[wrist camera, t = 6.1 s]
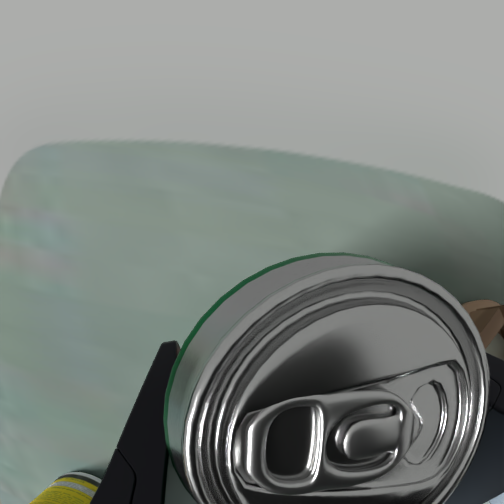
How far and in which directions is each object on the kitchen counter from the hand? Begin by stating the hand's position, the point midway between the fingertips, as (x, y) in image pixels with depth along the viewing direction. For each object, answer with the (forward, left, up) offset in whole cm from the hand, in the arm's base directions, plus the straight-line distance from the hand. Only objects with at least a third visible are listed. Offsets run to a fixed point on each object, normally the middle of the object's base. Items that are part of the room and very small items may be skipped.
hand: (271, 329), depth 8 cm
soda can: (-1, 0, -7) cm, 7 cm away
